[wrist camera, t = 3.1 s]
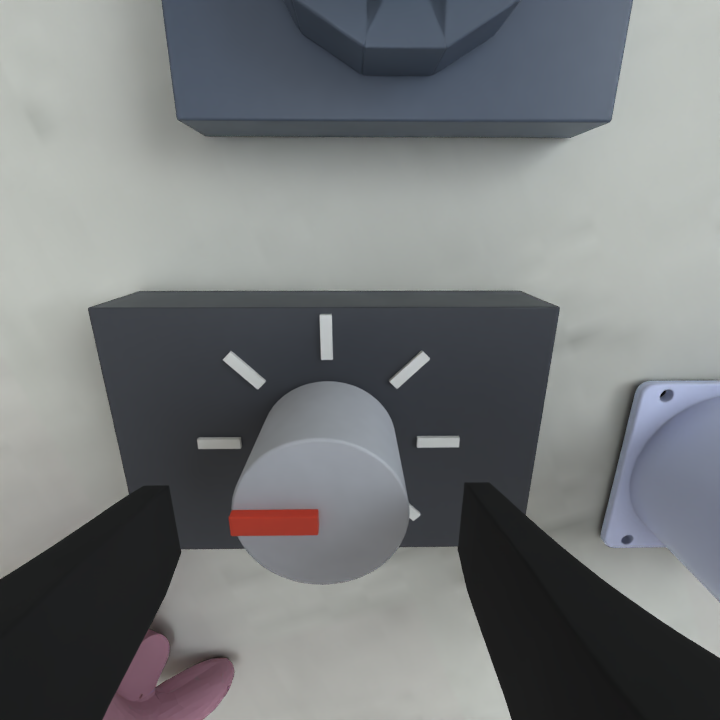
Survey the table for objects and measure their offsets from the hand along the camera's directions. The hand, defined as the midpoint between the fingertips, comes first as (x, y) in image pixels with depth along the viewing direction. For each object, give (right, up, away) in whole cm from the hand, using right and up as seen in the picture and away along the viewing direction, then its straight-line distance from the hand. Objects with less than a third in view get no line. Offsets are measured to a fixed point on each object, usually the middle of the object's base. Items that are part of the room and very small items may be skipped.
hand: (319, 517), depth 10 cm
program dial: (0, +1, +3) cm, 4 cm away
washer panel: (0, +2, +6) cm, 7 cm away
